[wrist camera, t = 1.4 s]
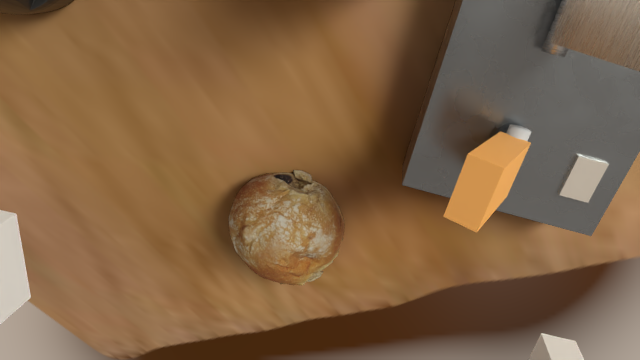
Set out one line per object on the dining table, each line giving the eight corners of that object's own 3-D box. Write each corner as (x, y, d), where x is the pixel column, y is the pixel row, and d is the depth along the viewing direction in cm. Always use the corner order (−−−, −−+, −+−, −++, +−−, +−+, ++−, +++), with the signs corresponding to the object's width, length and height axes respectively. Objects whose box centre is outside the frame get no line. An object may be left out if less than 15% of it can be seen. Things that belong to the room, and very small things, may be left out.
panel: (402, 164, 37) (400, 243, 26) (482, -83, 29) (527, -118, 18) (572, 210, 36) (645, 312, 25) (702, -33, 28) (888, -39, 17)
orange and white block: (480, 186, 33) (440, 223, 26) (507, 121, 30) (471, 145, 24) (508, 197, 32) (473, 239, 25) (537, 132, 30) (508, 159, 23)
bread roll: (350, 173, 42) (338, 169, 34) (346, 283, 42) (333, 304, 34) (249, 170, 44) (216, 165, 36) (244, 276, 44) (210, 294, 36)
